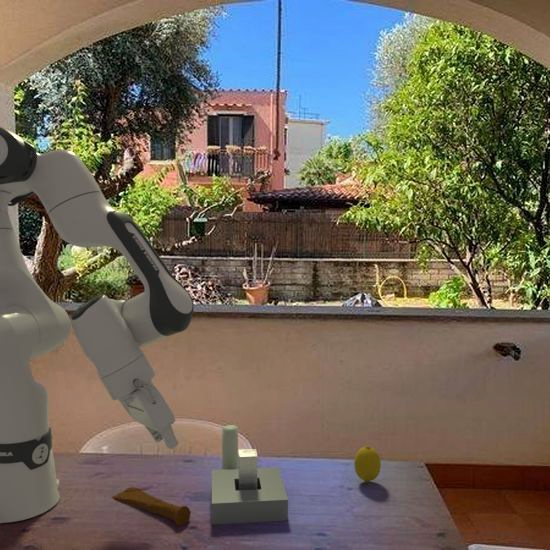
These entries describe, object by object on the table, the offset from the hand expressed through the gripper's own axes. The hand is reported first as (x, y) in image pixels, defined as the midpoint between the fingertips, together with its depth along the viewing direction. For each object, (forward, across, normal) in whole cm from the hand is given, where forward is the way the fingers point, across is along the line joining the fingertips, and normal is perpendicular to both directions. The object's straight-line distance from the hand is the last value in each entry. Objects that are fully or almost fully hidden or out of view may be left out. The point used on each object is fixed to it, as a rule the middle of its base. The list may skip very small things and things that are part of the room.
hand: (167, 443), depth 100 cm
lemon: (+32, -2, -31) cm, 45 cm away
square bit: (+20, +1, -8) cm, 21 cm away
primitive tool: (+11, +8, +8) cm, 16 cm away
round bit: (+18, +15, -11) cm, 26 cm away
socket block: (+20, +1, -8) cm, 21 cm away
